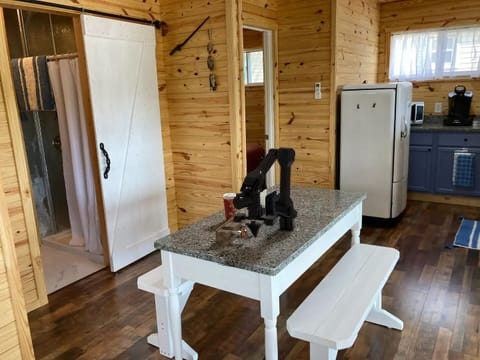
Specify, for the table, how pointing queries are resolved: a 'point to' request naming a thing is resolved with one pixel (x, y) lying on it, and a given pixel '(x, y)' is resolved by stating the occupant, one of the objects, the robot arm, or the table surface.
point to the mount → (227, 232)
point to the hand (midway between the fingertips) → (255, 237)
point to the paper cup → (229, 205)
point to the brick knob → (240, 233)
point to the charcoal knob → (243, 225)
